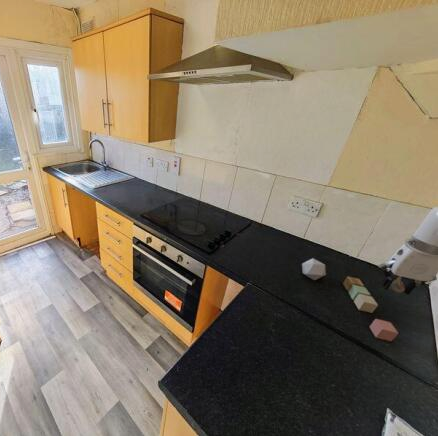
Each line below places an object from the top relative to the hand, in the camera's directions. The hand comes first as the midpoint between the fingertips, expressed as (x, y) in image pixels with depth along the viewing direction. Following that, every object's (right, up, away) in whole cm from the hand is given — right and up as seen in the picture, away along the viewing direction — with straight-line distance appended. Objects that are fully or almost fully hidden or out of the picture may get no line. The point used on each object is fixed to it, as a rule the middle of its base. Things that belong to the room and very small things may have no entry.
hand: (394, 288), depth 78 cm
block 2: (+2, -9, +17) cm, 19 cm away
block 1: (+4, -7, +21) cm, 23 cm away
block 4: (-3, -17, +2) cm, 17 cm away
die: (-9, -3, +27) cm, 29 cm away
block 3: (+1, -11, +12) cm, 17 cm away
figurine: (0, -1, +1) cm, 1 cm away
